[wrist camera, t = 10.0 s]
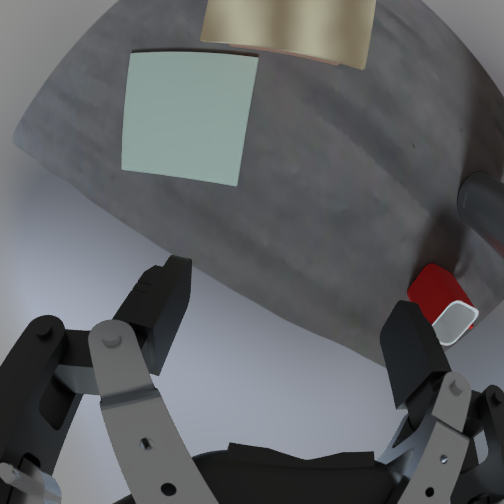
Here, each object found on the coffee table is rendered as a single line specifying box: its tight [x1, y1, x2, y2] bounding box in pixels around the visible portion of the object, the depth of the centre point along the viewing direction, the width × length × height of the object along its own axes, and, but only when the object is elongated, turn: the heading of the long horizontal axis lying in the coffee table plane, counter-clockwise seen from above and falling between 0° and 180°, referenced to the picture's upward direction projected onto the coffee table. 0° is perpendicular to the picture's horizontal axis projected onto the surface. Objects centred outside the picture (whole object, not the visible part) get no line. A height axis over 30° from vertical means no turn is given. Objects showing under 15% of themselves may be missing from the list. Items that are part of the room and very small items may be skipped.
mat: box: [122, 52, 259, 186], centre depth 35 cm, size 18×18×1 cm
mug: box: [407, 263, 479, 345], centre depth 40 cm, size 12×8×11 cm
